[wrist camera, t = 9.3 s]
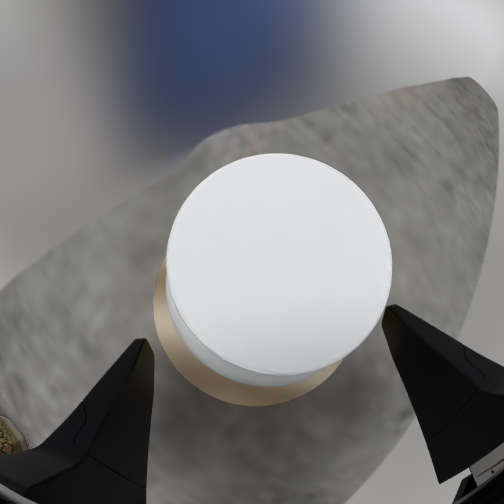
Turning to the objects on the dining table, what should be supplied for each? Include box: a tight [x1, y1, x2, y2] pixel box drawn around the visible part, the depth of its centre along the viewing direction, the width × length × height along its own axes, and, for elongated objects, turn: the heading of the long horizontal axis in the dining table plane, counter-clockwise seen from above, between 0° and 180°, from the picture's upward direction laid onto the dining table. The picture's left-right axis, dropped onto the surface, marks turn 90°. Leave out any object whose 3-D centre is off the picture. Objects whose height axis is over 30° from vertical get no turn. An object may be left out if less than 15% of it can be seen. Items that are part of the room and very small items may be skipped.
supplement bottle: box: [166, 153, 392, 387], centre depth 11 cm, size 7×7×13 cm
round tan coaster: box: [153, 255, 343, 406], centre depth 18 cm, size 14×14×1 cm
